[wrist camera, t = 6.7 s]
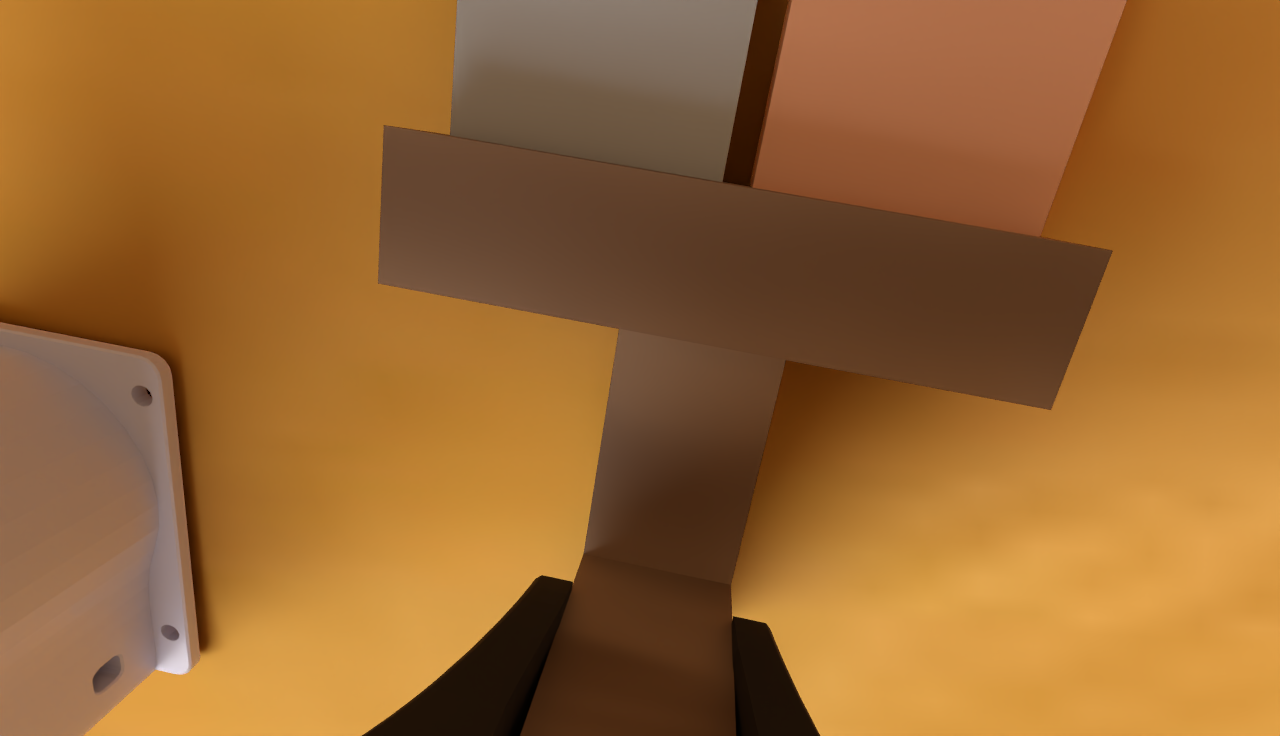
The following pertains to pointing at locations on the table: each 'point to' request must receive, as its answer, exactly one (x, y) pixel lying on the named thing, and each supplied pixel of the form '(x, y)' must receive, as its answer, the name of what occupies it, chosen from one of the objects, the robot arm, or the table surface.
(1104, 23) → the tile terracotta
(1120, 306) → the table surface
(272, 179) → the table surface
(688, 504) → the scraper
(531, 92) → the tile slate
